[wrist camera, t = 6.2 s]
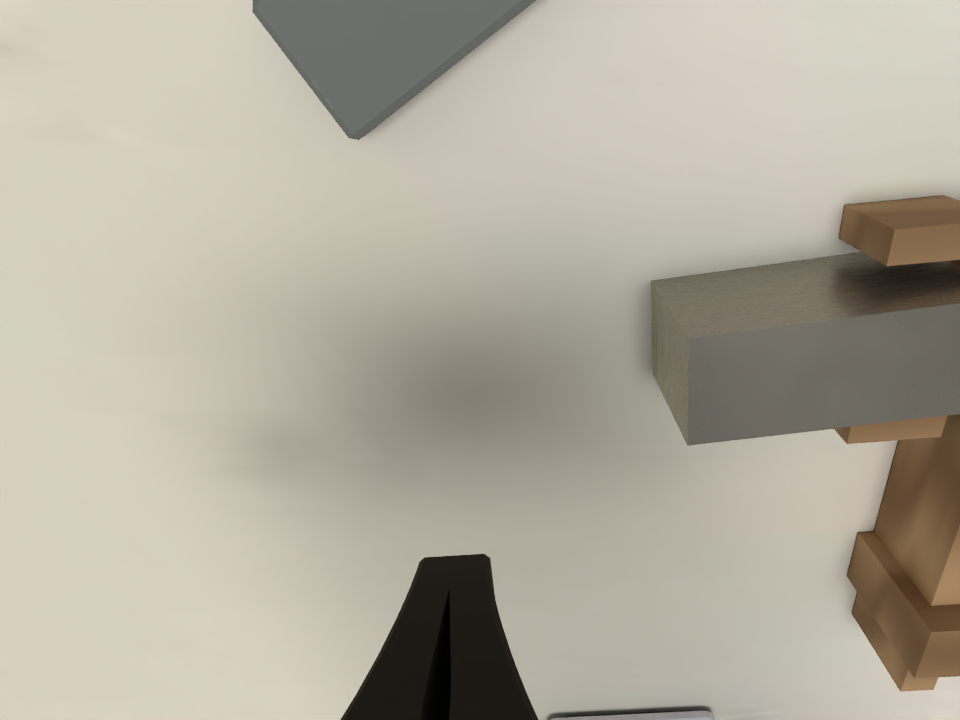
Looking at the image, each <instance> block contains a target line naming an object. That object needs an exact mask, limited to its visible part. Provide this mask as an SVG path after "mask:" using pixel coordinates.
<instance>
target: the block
mask: <svg viewBox="0 0 960 720" xmlns="http://www.w3.org/2000/svg"><path fill="white" fill-rule="evenodd" d="M651 297H652V342H653V375H654V377H655V379H656V381H657V383H658V385H659V387H660V389H661V391H662V393H663V395H664V398H665V400H666V402H667V404H668V406H669V408H670V410H671V412H672V414H673V416H674V418H675V420H676V422H677V425H678V427H679V429H680V431H681V433H682V435H683V437H684V439H685V441H686V443H687V445H695V444H704V443H712V442H721V441H730V440H739V439H747V438H756V437H765V436H773V435H782V434H791V433H799V432H808V431H817V430H825V429H834V428H843V427H852V426H860V425H869V424H878V423H886V422H895V421H904V420H912V419H921V418H930V417H939V416H947V415H956V414H960V265H958V264H956V263H954V262H952V261H940V262H929V263H917V264H906V265H895V266H885V265H884V264H882V263H880V262H879V261H877V260H875V259H873V258H872V257H870V256H868V255H867V254H865V253H863V252H859V253H852V254H844V255H837V256H830V257H823V258H815V259H808V260H801V261H793V262H786V263H779V264H771V265H764V266H757V267H749V268H742V269H735V270H727V271H720V272H713V273H705V274H698V275H691V276H683V277H676V278H669V279H662V280H654V281H651Z"/></svg>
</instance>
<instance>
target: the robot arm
mask: <svg viewBox="0 0 960 720" xmlns="http://www.w3.org/2000/svg"><path fill="white" fill-rule="evenodd" d="M341 720H538V718H537V716H536V714H535V712H534V709H533V707H532V705H531V702H530V700H529V698H528V695H527V693H526V691H525V688H524V686H523V683H522V681H521V678H520V676H519V673H518V670H517V668H516V665H515V662H514V660H513V657H512V654H511V651H510V648H509V645H508V642H507V639H506V636H505V633H504V630H503V627H502V624H501V620H500V617H499V613H498V609H497V605H496V601H495V595H494V587H493V579H492V570H491V562H490V558H489V557H488V556H486V555H485V554H476V555H460V556H443V557H427V558H423V559H422V560H421V561H420V562H419V565H418V568H417V571H416V574H415V577H414V579H413V582H412V584H411V587H410V589H409V592H408V594H407V596H406V599H405V601H404V603H403V606H402V608H401V610H400V612H399V614H398V617H397V619H396V621H395V623H394V625H393V627H392V629H391V631H390V633H389V635H388V637H387V639H386V641H385V643H384V645H383V647H382V649H381V651H380V653H379V655H378V657H377V658H376V660H375V662H374V664H373V666H372V667H371V669H370V671H369V673H368V674H367V676H366V678H365V680H364V682H363V683H362V685H361V687H360V689H359V690H358V692H357V694H356V696H355V697H354V699H353V701H352V702H351V704H350V705H349V707H348V709H347V710H346V712H345V714H344V715H343V717H342V718H341ZM551 720H715V719H714V716H713V714H712V713H711V712H709V711H686V712H665V713H645V714H625V715H604V716H584V717H564V718H553V719H551Z"/></svg>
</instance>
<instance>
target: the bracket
mask: <svg viewBox="0 0 960 720" xmlns="http://www.w3.org/2000/svg"><path fill="white" fill-rule="evenodd" d="M534 1H535V0H253V13H254V14H255V15H256V17H257V18H258V19H259V21H260V22H261V23H262V25H263V26H264V27H265V29H266V30H267V31H268V32H269V34H270V35H271V36H272V38H273V39H274V40H275V42H276V43H277V44H278V46H279V47H280V48H281V50H282V51H283V52H284V53H285V55H286V56H287V57H288V59H289V60H290V61H291V63H292V64H293V65H294V67H295V68H296V69H297V71H298V72H299V73H300V74H301V76H302V77H303V78H304V80H305V81H306V82H307V84H308V85H309V86H310V88H311V89H312V90H313V92H314V93H315V94H316V95H317V97H318V98H319V99H320V101H321V102H322V103H323V105H324V106H325V107H326V109H327V110H328V111H329V113H330V114H331V115H332V116H333V118H334V119H335V120H336V122H337V123H338V124H339V126H340V127H341V128H342V130H343V131H344V132H345V134H346V135H347V136H348V137H349V138H352V139H357V140H359V139H361V138H362V137H364V136H365V135H366V134H367V133H369V132H370V131H371V130H372V129H374V128H375V127H376V126H378V125H379V124H380V123H381V122H383V121H384V120H385V119H386V118H388V117H389V116H390V115H391V114H393V113H394V112H395V111H396V110H398V109H399V108H400V107H402V106H403V105H404V104H405V103H407V102H408V101H409V100H410V99H412V98H413V97H414V96H415V95H417V94H418V93H419V92H420V91H422V90H423V89H424V88H426V87H427V86H428V85H429V84H431V83H432V82H433V81H434V80H436V79H437V78H438V77H439V76H441V75H442V74H443V73H445V72H446V71H447V70H448V69H450V68H451V67H452V66H453V65H455V64H456V63H457V62H458V61H460V60H461V59H462V58H463V57H465V56H466V55H467V54H469V53H470V52H471V51H472V50H474V49H475V48H476V47H477V46H479V45H480V44H481V43H482V42H484V41H485V40H486V39H487V38H489V37H490V36H491V35H493V34H494V33H495V32H496V31H498V30H499V29H500V28H501V27H503V26H504V25H505V24H506V23H508V22H509V21H510V20H511V19H513V18H514V17H515V16H517V15H518V14H519V13H520V12H522V11H523V10H524V9H525V8H527V7H528V6H529V5H530V4H532V3H533V2H534Z"/></svg>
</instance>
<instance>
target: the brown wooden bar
mask: <svg viewBox="0 0 960 720" xmlns="http://www.w3.org/2000/svg"><path fill="white" fill-rule="evenodd" d="M839 238H840V239H841V240H843V241H845V242H846V243H848V244H850V245H851V246H853V247H855V248H857V249H858V250H860V251H862V252H863V253H865V254H867V255H868V256H870V257H872V258H873V259H875V260H877V261H879V262H880V263H882V264H884V265H885V266H895V265H906V264H917V263H929V262H940V261H952V262H954V263H956V264H958V265H960V201H958V200H955V199H952V198H950V197H947V196H934V197H924V198H913V199H903V200H893V201H882V202H872V203H861V204H851V205H845V208H844V213H843V219H842V224H841V230H840V235H839ZM834 429H835V430H836V432H837V433H838V434H839V435H840V436H841V437H842V439H843V440H844V441H845V442H846V443H847V444H851V443H865V442H878V441H892V440H899V441H898V445H897V449H896V452H895V456H894V460H893V463H892V467H891V471H890V475H889V478H888V482H887V486H886V489H885V493H884V497H883V500H882V504H881V508H880V511H879V515H878V519H877V523H876V526H875V530H874V532H864V533H858V536H857V540H856V543H855V547H854V551H853V555H852V559H851V563H850V567H849V571H848V575H847V577H848V578H849V580H850V581H851V583H852V584H853V586H854V587H855V589H856V591H857V592H858V593H857V596H856V600H855V604H854V607H853V611H852V615H853V616H854V618H855V619H856V621H857V623H858V624H859V626H860V627H861V629H862V631H863V632H864V634H865V635H866V637H867V639H868V640H869V642H870V643H871V645H872V647H873V648H874V650H875V651H876V653H877V655H878V656H879V658H880V659H881V661H882V663H883V664H884V666H885V667H886V669H887V671H888V672H889V674H890V675H891V677H892V679H893V680H894V682H895V683H896V685H897V687H898V688H899V690H900V691H916V690H933V689H934V687H935V684H936V682H937V679H938V677H952V676H960V414H956V415H947V416H939V417H930V418H921V419H912V420H904V421H895V422H886V423H878V424H869V425H860V426H852V427H843V428H834Z"/></svg>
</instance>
